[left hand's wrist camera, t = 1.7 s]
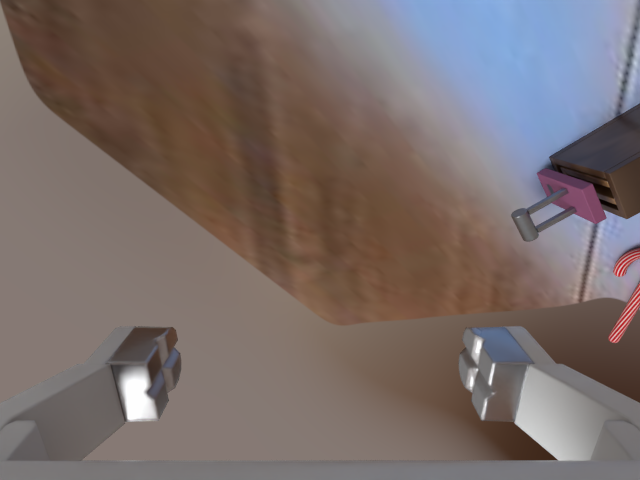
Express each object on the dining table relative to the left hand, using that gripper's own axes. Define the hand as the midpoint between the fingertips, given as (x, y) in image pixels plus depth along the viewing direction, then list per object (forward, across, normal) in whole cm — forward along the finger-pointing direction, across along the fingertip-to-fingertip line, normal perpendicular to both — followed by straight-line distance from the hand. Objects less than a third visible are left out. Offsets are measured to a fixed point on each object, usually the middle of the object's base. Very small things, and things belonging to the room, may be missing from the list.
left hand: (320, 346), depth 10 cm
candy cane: (+38, -44, +20) cm, 61 cm away
